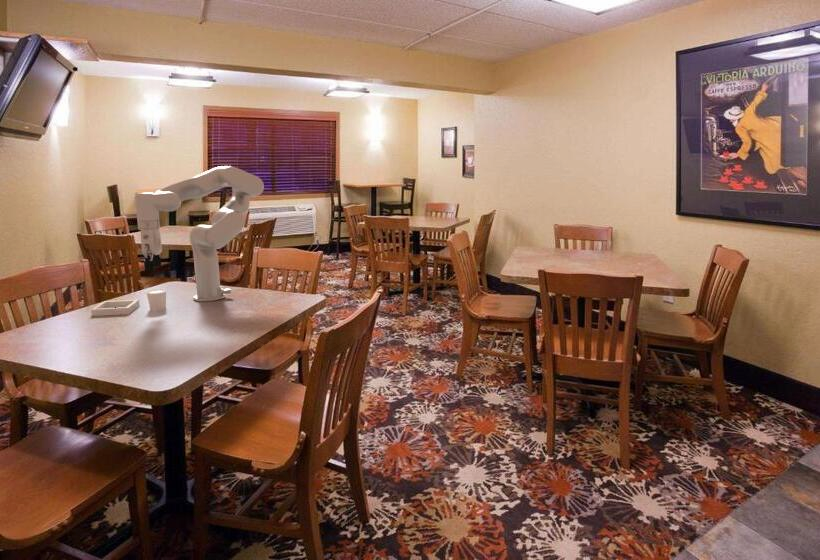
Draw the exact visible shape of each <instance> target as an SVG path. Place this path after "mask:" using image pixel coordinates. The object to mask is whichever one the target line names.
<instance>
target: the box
mask: <svg viewBox="0 0 820 560" xmlns="http://www.w3.org/2000/svg"><path fill="white" fill-rule="evenodd" d="M138 306H139V307H140V299H126V300H125V299H124V300H104V301H102V302H101V303H98V305H96V306H94V307H93V308H91V309H90V311H91V317H97V316H98V317H100V316H102V317H103V316H116V315H117V316H119V315H120V314H122V315H130V314H131V313H132V312H134V311H135V310H136V309H137V308H138ZM115 307H116V308H115ZM133 310H134V311H133ZM120 316H121V315H120Z"/></svg>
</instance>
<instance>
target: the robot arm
mask: <svg viewBox="0 0 820 560" xmlns="http://www.w3.org/2000/svg"><path fill="white" fill-rule="evenodd" d="M226 187H227V188H228V187H231V190H232V195H231V198H230V199H229V201H228V202H227V203H225V204H223V206H221V208H219V209H218V210H217V211H215V212H214V213H213V214H212V215H211V218H210V224H209V225H208V224H198V225H195V226H194V227H193V228H191V230H190V233H189V241H190V246H191V248H192V254H193V255H192V256H193V265H194V277H195V285H196V286H195V288H196V294H195V295H193V301H196V302H213V301H219V299H220V300H222V298H223V299H224V298H225V297H226V296H225V295H228V294H229V295H230V294H232V289H231V288H223V286H222V285H221V281H220V280H221V277H220V265H219V255H218V251H217V250H219V249H222V248H224V247H225V246H226V245H228V244H229V243H230V242H231V241H232V240H233V239H234V238H236V236H237V235H239V234H240V233H241V231H242V230H243V229H244V227H245V222H246V219H245V217H244V215H246V213H247V212H248V210H249V209H250V208H249V207H250V197H258V196H261V194H262V193H263V192H264V190H265V189H264V188H265V185H264V181H263V180H262V179H261V178H260V177H259V176H257V175H254V174H252V173H249V172H247V171H246V170H243V169H240V168H237V167H235V166H233V165H232V166H231V165H229V166H228V165H224V166H223V165H221V166H217V167H214V168H211V169H209V170H207V171H204V172H203V173H201V174H197V175H195V176H193V177H191V178H187V179H184V180H181V181H178V182H176V183H173V184H170V185H168V186H165V187H163V188H161V189H158V190H156V191H154V192H137V193H136V194H135V195H134V201H135V212H136V219H137V220H136V221H137V229H138V230H139V231H140V241H141V242H140V243H141V246H140V247H141V252H142V253H141V254H142V255H143V265H144V271H145V272H155V268H160V267H162V258H161V253H162V252H163V246H162V245H163V244H162V239H161V232H160V230H161V225H160V224H161V222H160V213H159V211H160V212H161V211H162V212H175V211H177V210H179V208H180V207H181V205H182V202H185V201H187V200H194V199H195V200H196V199H200V198H203V197H206V196H208V195H210V194H212V193H214V192H216V191H218V190H221V189H223V188H226Z"/></svg>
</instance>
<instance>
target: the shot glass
mask: <svg viewBox="0 0 820 560" xmlns="http://www.w3.org/2000/svg"><path fill="white" fill-rule="evenodd" d="M146 296H147V300H148V301H147V302H148V307H149V309H150V311H153V310H156V311H163V310H165V309H167V291H166V290H165V289H154V290H149V291H146ZM162 309H163V310H162Z"/></svg>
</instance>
